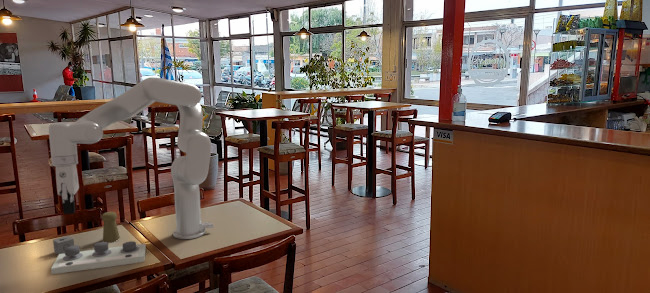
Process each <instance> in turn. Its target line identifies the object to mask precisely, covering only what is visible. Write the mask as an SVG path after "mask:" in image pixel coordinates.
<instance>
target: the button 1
mask: <svg viewBox="0 0 650 293" xmlns="http://www.w3.org/2000/svg"><path fill="white" fill-rule="evenodd" d="M80 251H81V249H80V246H79V245H78V244H77V245H75V244H74V245H73V246H68V247H66V248H65V255H66V256H73V255H77V254H79V253H80Z"/></svg>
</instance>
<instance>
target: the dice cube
mask: <svg viewBox="0 0 650 293" xmlns="http://www.w3.org/2000/svg"><path fill="white" fill-rule="evenodd" d="M52 242H53V252H54V254H56V255H57V256H58V255H59V254H64V253H65V248H66V247H68V246H73V245H75V241H74V238H72V237H71V236H69V235H65V236H62V237H58V238H55V239H53V240H52Z"/></svg>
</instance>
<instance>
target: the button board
mask: <svg viewBox="0 0 650 293" xmlns="http://www.w3.org/2000/svg"><path fill="white" fill-rule="evenodd" d="M146 250H147V247H146V243H138V244H137V243H136V249H135V250H133V251H129V252H125V251H123V245H122V246H114V247H108V250H107V251H104V252H95V251H94V249H89V250H83V251H81V250H80V253H79V254H77V255H73V256H66V255H65V253H64V254H59V255H57V257H56V259H55V261H54V263H53V264H52V266H51V268H50V269H51V271H50V272H51V275H55V274H56V275H57V274H65V273H70V272H77V271H85V270H94V269H100V268H108V267H116V266H123V265H124V266H125V265H130V264H138V262H139V263H144V262H145V261H144V260H145V259H146V252H147V251H146ZM143 261H144V262H143Z"/></svg>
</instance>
